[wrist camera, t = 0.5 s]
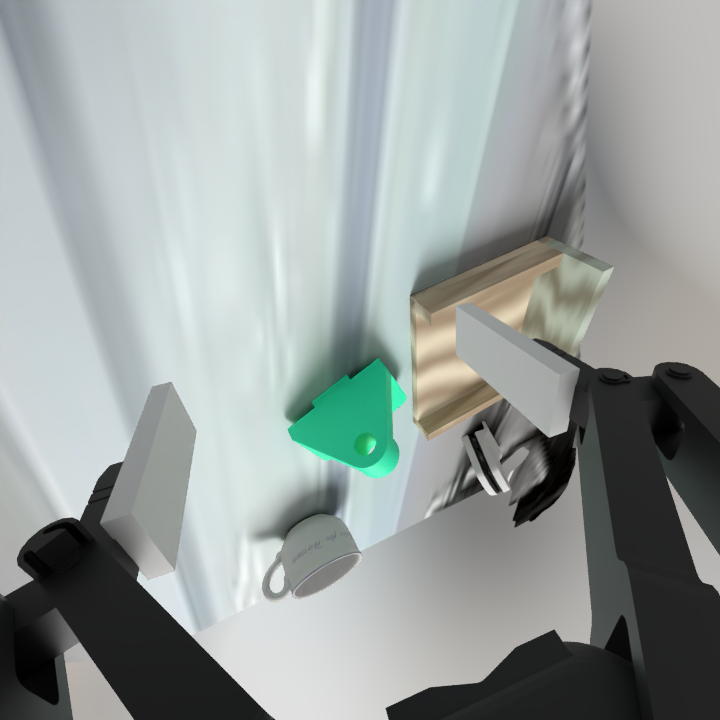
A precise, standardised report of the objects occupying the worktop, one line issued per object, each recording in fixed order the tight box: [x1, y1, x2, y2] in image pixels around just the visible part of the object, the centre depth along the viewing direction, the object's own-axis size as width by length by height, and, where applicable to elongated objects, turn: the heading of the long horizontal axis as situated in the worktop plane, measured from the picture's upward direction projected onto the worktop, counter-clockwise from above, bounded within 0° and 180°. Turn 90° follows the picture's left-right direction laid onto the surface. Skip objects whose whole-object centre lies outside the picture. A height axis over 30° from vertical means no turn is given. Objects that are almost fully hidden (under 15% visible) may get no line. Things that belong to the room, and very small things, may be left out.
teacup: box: [262, 514, 362, 602], centre depth 52 cm, size 14×11×8 cm
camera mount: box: [288, 358, 406, 478], centre depth 37 cm, size 12×8×10 cm, turn 118°
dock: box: [410, 236, 614, 440], centre depth 43 cm, size 22×18×8 cm
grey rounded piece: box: [462, 421, 511, 495], centre depth 66 cm, size 17×5×10 cm, turn 32°
